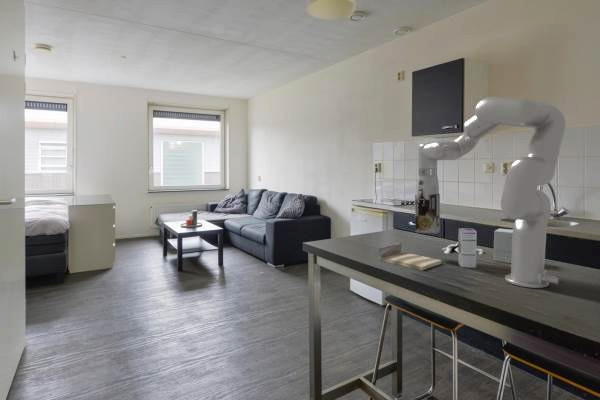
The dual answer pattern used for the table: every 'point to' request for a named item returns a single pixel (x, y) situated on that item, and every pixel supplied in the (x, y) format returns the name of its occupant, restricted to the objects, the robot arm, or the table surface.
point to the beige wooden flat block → (405, 258)
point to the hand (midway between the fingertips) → (427, 214)
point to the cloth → (455, 249)
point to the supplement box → (503, 245)
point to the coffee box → (428, 216)
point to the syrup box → (467, 247)
